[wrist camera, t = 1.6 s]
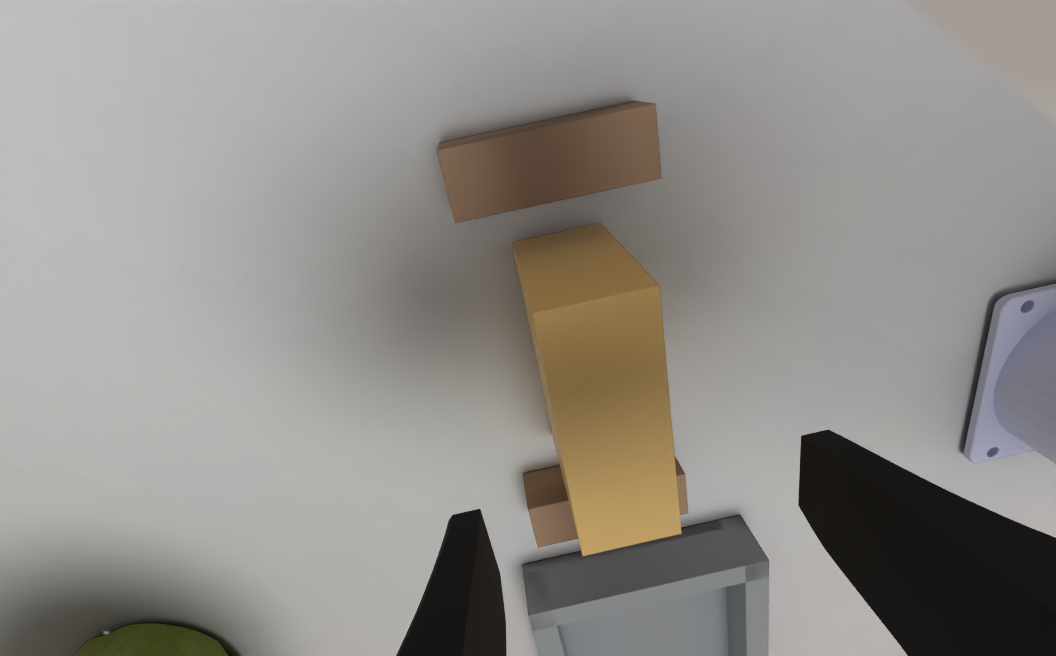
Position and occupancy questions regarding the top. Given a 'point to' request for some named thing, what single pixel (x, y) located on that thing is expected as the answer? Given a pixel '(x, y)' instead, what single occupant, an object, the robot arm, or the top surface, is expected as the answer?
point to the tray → (655, 597)
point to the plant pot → (152, 642)
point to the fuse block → (603, 384)
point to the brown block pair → (543, 177)
